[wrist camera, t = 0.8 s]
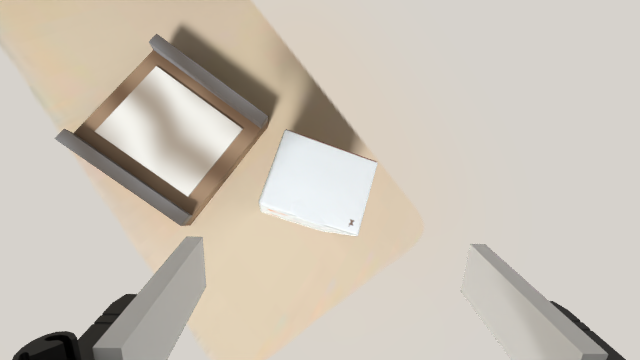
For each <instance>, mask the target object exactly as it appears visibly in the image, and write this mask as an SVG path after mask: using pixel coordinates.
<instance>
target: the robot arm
mask: <svg viewBox="0 0 640 360" xmlns="http://www.w3.org/2000/svg"><path fill="white" fill-rule="evenodd" d="M205 288H206V278H205V263H204V249H203V237H186V238H185V239H184V240H183V241H182V242H181V244H180V245H179V246H178V247H177V248H176V250H175V251H174V252H173V253H172V254H171V255H170V257H169V258H168V259H167V260H166V261H165V263H164V264H163V265H162V266H161V267H160V268H159V270H158V271H157V272H156V273H155V274H154V276H153V277H152V278H151V279H150V280H149V281H148V283H147V284H146V285H145V286H144V287H143V289H142V290H141V291H140V292H139V293H138V294H126V295H124V296H122V297H121V298H120V299H118V300H116V301H115V302H113V303H112V304H111V305H110V306H109V307H108V308H107V309H106V311H104V313H103V315H102V316H100V317H99V318H98V319H97V320H96V321H95V323H94V324H93V325H91V326H90V328H89V329H88V330H87V331H86V332H85V333H84V334H83V335H82V336H81V337H80V338H79V339H78V340H77V337H76V336H75V334H74V333H71V332H67V331H65V332H55V333H51V334H47V335H44V336H42V337H40V338H37V339H35V340H33V341H31V342H30V343H28V344H27V345H25V346H24V347H22V348H21V349H20V350H19V351H18V352H17V353H16V355H14V357H13V359H12V360H167V359H168V357H169V355H170V353H171V351H172V350H173V348H174V346H175V344H176V342H177V340H178V338H179V336H180V335H181V333H182V331H183V329H184V327H185V325H186V323H187V321H188V320H189V318H190V316H191V314H192V312H193V310H194V308H195V306H196V304H197V303H198V301H199V299H200V297H201V295H202V293H203V291H204V289H205ZM461 293H462V294H463V295H464V297H465V298H466V299H467V301H468V302H469V303H470V305H471V306H472V307H473V309H474V310H475V312H476V313H477V314H478V316H479V317H480V318H481V320H482V321H483V322H484V324H485V325H486V326H487V328H488V329H489V330H490V332H491V333H492V334H493V336H494V337H495V339H496V340H497V341H498V343H499V344H500V345H501V347H502V348H503V349H504V351H505V352H506V353H507V355H508V356H509V358H510V359H511V360H626V359H624V358H623V357H622V356H621V355H620V354H619V353H617V352H616V351H615V350H614V349H613V348H611V347H610V346H609V345H608V344H607V343H606V342H605V341H603V340H602V339H601V338H600V337H599V336H598V335H596V334H595V333H594V332H593V331H590V329H589V328H588V327H587V326H586V325H585V324H584V323H582V322H580V320H579V319H578V318H577V317H576V316H574V315H573V314H572V313H571V312H570V311H568V310H567V309H565V308H564V307H562V306H560V305H558V304H557V303H555V302H553V301H548V300H547V299H546V298H545V297H544V296H543V295H541V294H540V293H539V292H538V291H537V290H536V289H535V288H534V287H532V286H531V285H530V284H529V283H528V282H527V281H526V280H525V279H523V278H522V277H521V276H520V275H519V274H518V273H517V272H516V271H515V270H513V269H512V268H511V267H510V266H509V265H508V264H507V263H506V262H504V261H503V260H502V259H501V258H500V257H499V256H498V255H497V254H495V253H494V252H493V251H492V250H491V249H490V248H489V247H487V245H485V244H470V248H469V253H468V258H467V263H466V268H465V273H464V278H463V283H462V288H461Z"/></svg>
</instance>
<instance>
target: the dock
mask: <svg viewBox="0 0 640 360" xmlns="http://www.w3.org/2000/svg"><path fill="white" fill-rule="evenodd" d="M149 43H150V45H151V46H152V48H153V51H152V52H151V53H150V54H149V55H148V56H147V57H146V58H145V59H144V60H143V62H142V63H141V64H140V65H139V66H138V67H137V68H136V69H135V70H134V71H133V72H132V73H131V74H130V75H129V76H128V77H127V78H126V79H125V80H124V81H123V82H122V83H121V84H120V85H119V86H118V88H117V89H116V90H115V91H114V92H113V93H112V94H111V95H110V96H109V97H108V98H107V99H106V100H105V101H104V102H103V103H102V104H101V105H100V106H99V107H98V108H97V109H96V110H95V111H94V113H93V114H92V115H91V116H90V117H89V118H88V119H87V120H86V121H85V122H84V123H83V124H82V125H81V126H80V127H79V128H78V129H77V130H76V131H75V132H74V133H72V132H70V131H68V130H66V129H63V130H62V131H61V132H60V133H59V135H58V136H57V137H56V138H55V139H56V140H58V141H59V142H60V143H62V144H63V145H64V146H66V147H67V148H69V149H70V150H72V151H73V152H75V153H76V154H78V155H79V156H80V157H82V158H83V159H85V160H86V161H88V162H89V163H91V164H92V165H93V166H95V167H96V168H98V169H99V170H101V171H102V172H104V173H105V174H106V175H108V176H109V177H111V178H112V179H114V180H115V181H117V182H118V183H120V184H121V185H122V186H124V187H125V188H127V189H128V190H130V191H131V192H133V193H134V194H135V195H137V196H138V197H140V198H141V199H143V200H144V201H146V202H147V203H148V204H150V205H151V206H153V207H154V208H156V209H157V210H159V211H160V212H162V213H163V214H164V215H166V216H167V217H169V218H170V219H172V220H173V221H175V222H176V223H177V224H179V225H180V226H186V225H191V224H192V222H193V221H194V220H195V218H196V217H197V216H198V215H199V213H200V212H201V211H202V210H203V208H204V207H205V206H206V205H207V203H208V202H209V201H210V199H211V198H212V197H213V196H214V194H215V193H216V192H217V191H218V189H219V188H220V187H221V186H222V184H223V183H224V182H225V180H226V179H227V178H228V177H229V175H230V174H231V173H232V172H233V170H234V169H235V168H236V167H237V165H238V164H239V163H240V161H241V160H242V159H243V158H244V156H245V155H246V154H247V153H248V151H249V150H250V149H251V148H252V146H253V145H254V144H255V142H256V141H257V140H258V139H259V137H260V136H261V135H262V134H263V132H264V131H265V130H266V129H267V126H268V116H267V115H266V114H265V113H263V112H262V111H260V110H259V109H258V108H256V107H255V106H254V105H252V104H251V103H250V102H248V101H247V100H246V99H244V98H243V97H242V96H240V95H239V94H237V93H236V92H235V91H233V90H232V89H231V88H229V87H228V86H227V85H225V84H224V83H223V82H221V81H220V80H219V79H217V78H216V77H214V76H213V75H212V74H210V73H209V72H208V71H206V70H205V69H204V68H202V67H201V66H200V65H198V64H197V63H196V62H194V61H193V60H191V59H190V58H189V57H187V56H186V55H185V54H183V53H182V52H181V51H179V50H178V49H177V48H175V47H174V46H173V45H171V44H170V43H168V42H167V41H166V40H164V39H163V38H162V37H160V36H159V35H158V34H156V35H155V36H154V37H153V38H152V39H151V40H150V41H149Z"/></svg>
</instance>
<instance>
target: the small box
mask: <svg viewBox="0 0 640 360" xmlns="http://www.w3.org/2000/svg"><path fill="white" fill-rule="evenodd" d="M377 164H378V163H377V162H376V161H373V160H371V159H368V158H365V157H362V156H359V155H357V154H354V153H351V152H348V151H345V150H343V149H340V148H337V147H334V146H332V145H329V144H326V143H323V142H320V141H318V140H315V139H312V138H309V137H306V136H303V135H301V134H298V133H295V132H292V131H289V130H287V129H286V130H285V131H284V134H283V136H282V139H281V142H280V144H279V147H278V150H277V153H276V155H275V158H274V161H273V164H272V166H271V169H270V172H269V175H268V177H267V180H266V183H265V186H264V188H263V191H262V194H261V197H260V199H259V205H260V211H261V212H263V213H266V214H269V215H272V216H275V217H278V218H281V219H284V220H287V221H290V222H293V223H297V224H300V225H303V226H306V227H309V228H313V229H316V230H319V231H323V232H332V233H338V234H344V235H352V236H358V234H359V230H360V226H361V222H362V218H363V214H364V210H365V207H366V203H367V200H368V196H369V192H370V189H371V185H372V181H373V178H374V174H375V170H376V167H377Z"/></svg>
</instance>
